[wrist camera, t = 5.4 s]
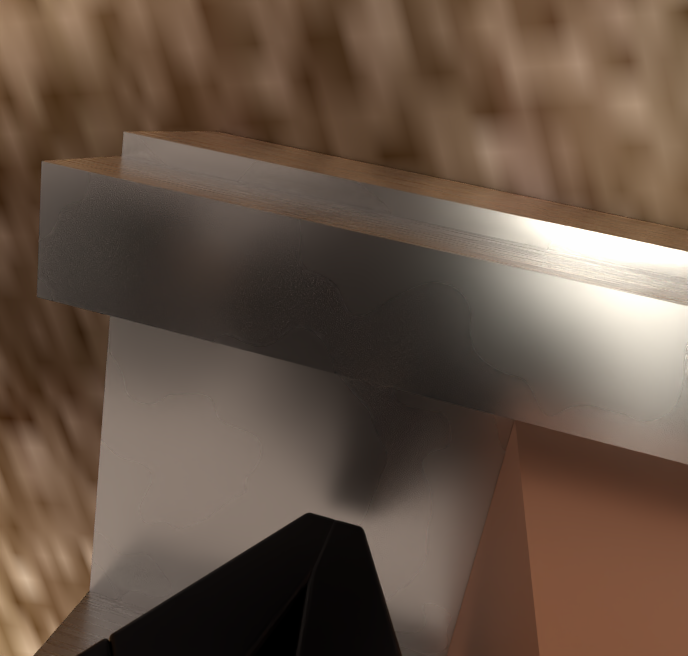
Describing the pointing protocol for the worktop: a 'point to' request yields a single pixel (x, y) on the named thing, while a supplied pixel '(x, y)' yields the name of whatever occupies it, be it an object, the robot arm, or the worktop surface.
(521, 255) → the channel
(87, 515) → the worktop surface
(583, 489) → the reddish-brown angular block
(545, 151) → the worktop surface
